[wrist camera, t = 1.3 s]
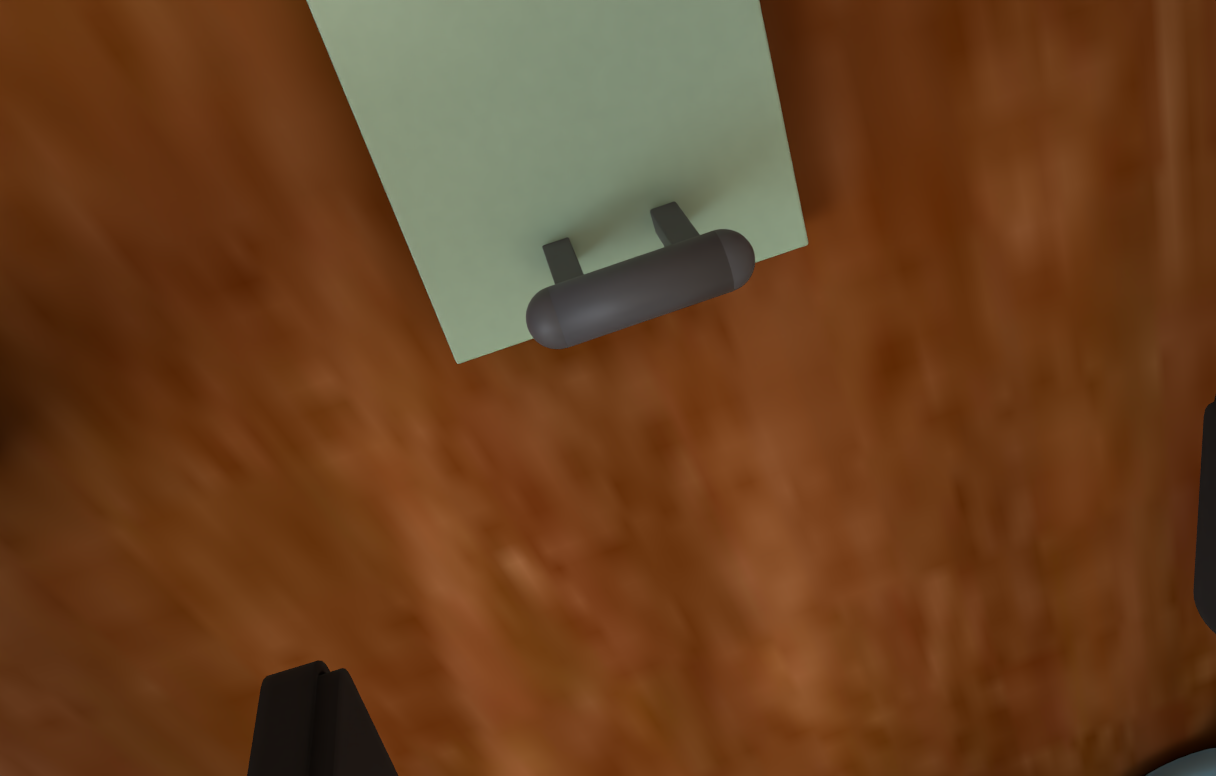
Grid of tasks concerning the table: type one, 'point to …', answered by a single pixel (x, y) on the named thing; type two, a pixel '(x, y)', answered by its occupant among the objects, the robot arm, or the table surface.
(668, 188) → the sign
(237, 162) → the table surface
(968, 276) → the table surface
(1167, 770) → the teapot
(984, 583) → the table surface
